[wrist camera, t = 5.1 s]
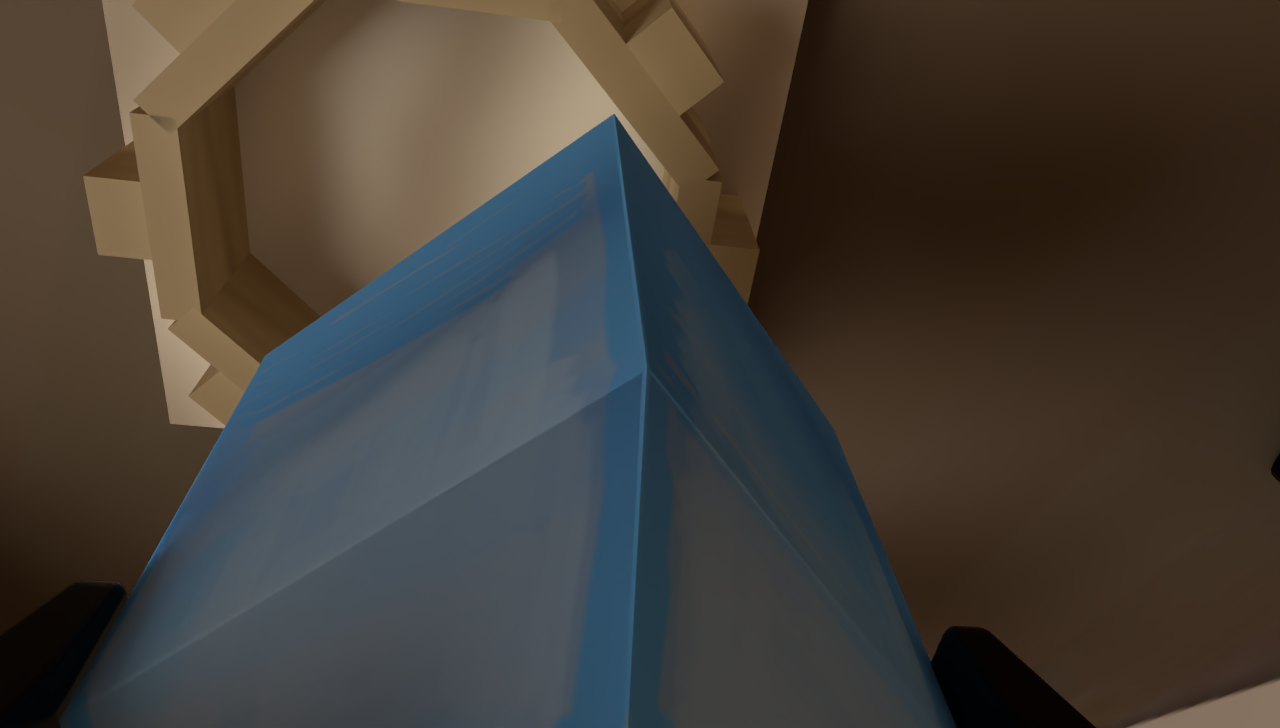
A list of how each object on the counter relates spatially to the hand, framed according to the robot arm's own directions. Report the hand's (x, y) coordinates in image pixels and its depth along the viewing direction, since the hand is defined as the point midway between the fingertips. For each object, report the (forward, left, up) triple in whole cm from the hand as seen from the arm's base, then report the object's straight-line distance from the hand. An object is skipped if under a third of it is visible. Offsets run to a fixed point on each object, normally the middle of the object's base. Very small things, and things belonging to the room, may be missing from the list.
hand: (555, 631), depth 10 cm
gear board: (+3, 0, -14) cm, 14 cm away
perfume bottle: (0, 0, -5) cm, 5 cm away
